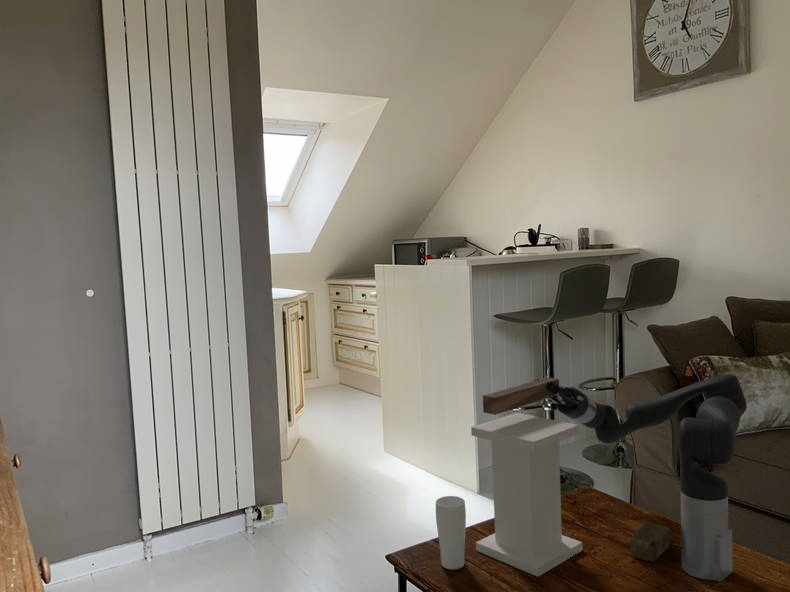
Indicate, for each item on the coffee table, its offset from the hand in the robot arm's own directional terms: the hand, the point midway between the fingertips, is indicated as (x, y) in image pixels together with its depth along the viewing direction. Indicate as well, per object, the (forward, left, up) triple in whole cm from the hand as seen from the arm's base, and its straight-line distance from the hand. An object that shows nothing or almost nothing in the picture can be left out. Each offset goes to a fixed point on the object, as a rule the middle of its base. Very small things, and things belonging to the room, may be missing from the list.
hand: (541, 383), depth 165 cm
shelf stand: (-5, +14, -37) cm, 40 cm away
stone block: (-25, -5, -38) cm, 46 cm away
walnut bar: (0, +8, -4) cm, 8 cm away
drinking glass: (+3, +31, -37) cm, 49 cm away
